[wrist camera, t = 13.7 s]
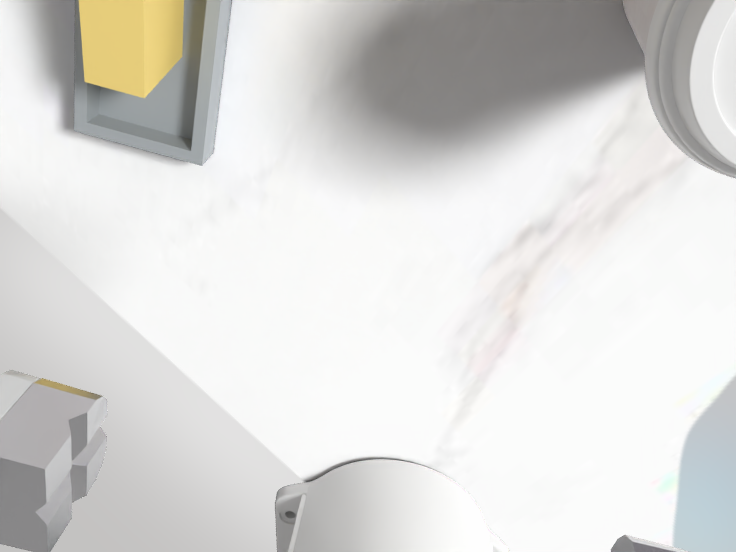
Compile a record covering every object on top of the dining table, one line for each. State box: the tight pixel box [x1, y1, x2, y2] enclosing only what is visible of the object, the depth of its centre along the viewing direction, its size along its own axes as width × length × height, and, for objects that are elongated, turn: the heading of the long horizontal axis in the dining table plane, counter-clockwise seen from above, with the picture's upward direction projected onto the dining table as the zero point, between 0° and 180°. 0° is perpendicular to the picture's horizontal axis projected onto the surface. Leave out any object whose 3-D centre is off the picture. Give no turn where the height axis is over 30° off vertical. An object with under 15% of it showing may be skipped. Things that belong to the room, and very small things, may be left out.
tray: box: [74, 0, 232, 166], centre depth 36 cm, size 14×7×2 cm, turn 167°
